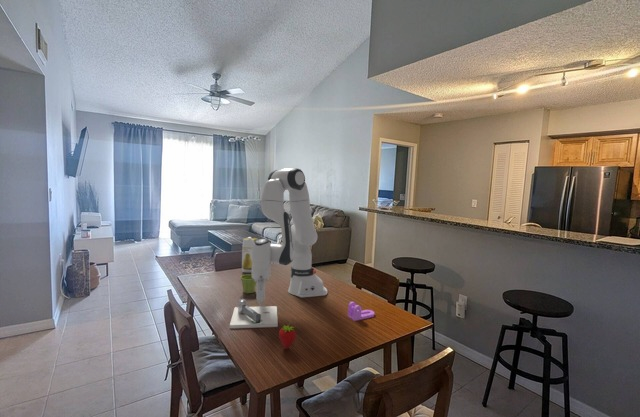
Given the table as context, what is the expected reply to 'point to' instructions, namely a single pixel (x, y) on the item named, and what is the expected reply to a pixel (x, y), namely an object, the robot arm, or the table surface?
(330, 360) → the table surface
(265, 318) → the dial board
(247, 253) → the juice carton
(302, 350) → the table surface
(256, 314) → the grey lever handle
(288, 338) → the strawberry
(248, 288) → the plant pot
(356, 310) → the bracket
